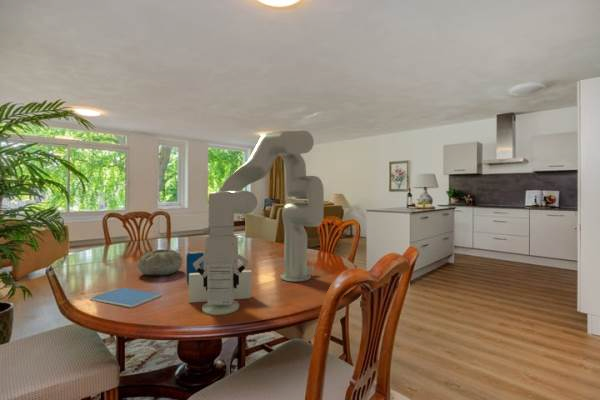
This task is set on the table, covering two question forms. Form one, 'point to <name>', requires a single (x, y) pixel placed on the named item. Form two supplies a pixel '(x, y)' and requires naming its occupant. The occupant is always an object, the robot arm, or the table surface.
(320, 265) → the table surface
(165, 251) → the grey rounded lump
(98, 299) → the blue flat slab
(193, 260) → the beverage can
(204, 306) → the round plate
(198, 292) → the painted screen
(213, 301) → the supplement box
